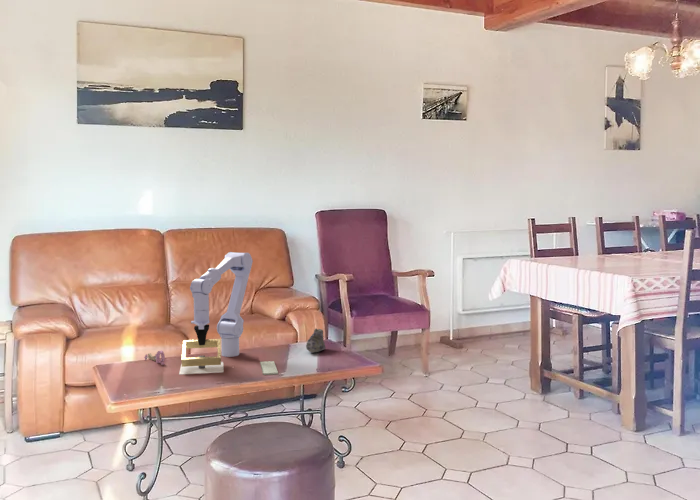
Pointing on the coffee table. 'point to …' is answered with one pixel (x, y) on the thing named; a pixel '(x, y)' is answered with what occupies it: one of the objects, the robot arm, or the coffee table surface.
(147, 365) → the coffee table surface
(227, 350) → the robot arm
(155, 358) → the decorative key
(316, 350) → the mineral rock
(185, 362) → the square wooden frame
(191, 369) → the post stand
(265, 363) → the mat
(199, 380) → the coffee table surface
